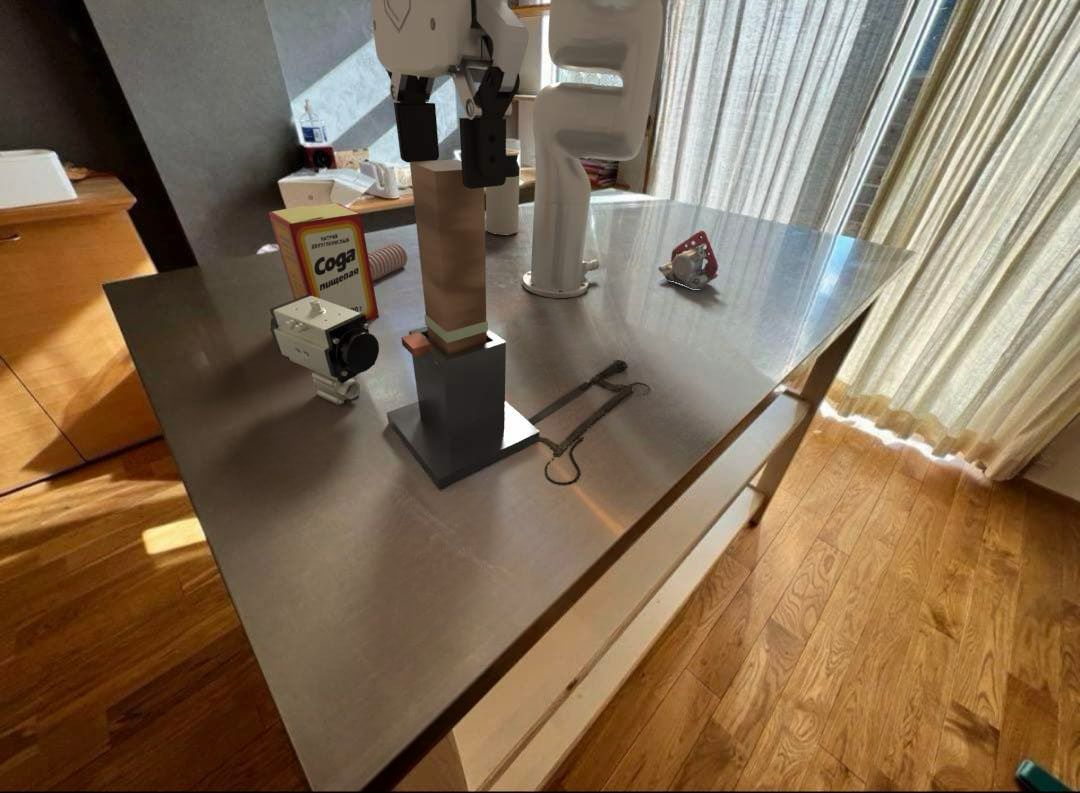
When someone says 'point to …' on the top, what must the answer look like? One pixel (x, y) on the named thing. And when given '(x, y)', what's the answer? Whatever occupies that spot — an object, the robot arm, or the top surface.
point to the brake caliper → (691, 263)
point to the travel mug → (504, 199)
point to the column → (451, 254)
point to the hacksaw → (582, 428)
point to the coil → (387, 260)
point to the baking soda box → (326, 255)
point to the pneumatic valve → (325, 344)
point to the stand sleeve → (459, 410)
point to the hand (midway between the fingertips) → (449, 172)
